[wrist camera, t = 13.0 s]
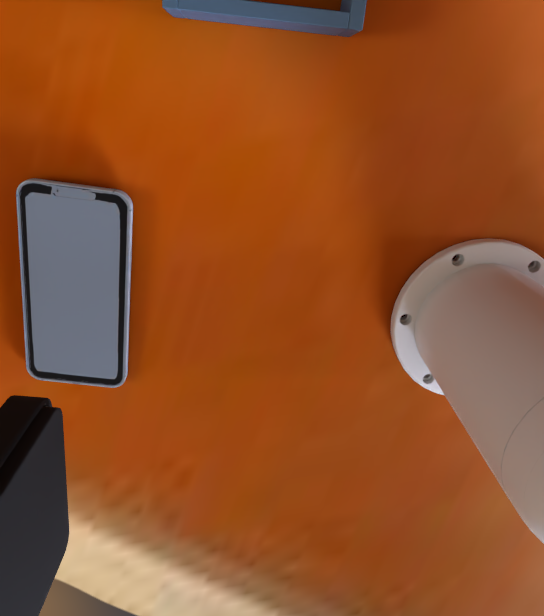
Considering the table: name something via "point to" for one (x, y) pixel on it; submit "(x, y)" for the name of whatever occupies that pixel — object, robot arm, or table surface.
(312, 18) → the rectangular frame
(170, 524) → the table surface
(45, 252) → the smartphone
